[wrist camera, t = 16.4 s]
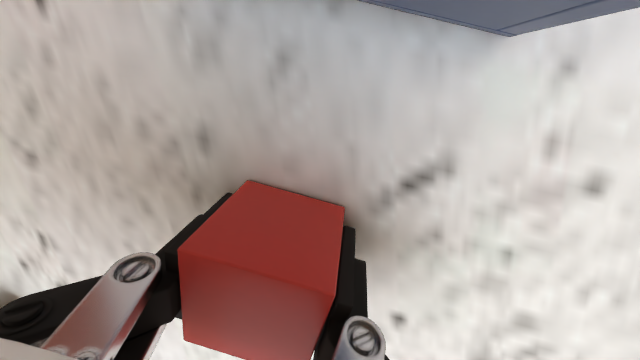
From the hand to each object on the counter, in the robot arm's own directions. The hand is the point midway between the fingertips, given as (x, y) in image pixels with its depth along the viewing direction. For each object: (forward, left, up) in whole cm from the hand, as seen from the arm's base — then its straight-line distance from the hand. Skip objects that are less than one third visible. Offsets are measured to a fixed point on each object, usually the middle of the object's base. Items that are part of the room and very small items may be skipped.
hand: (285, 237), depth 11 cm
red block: (0, 0, 0) cm, 0 cm away
